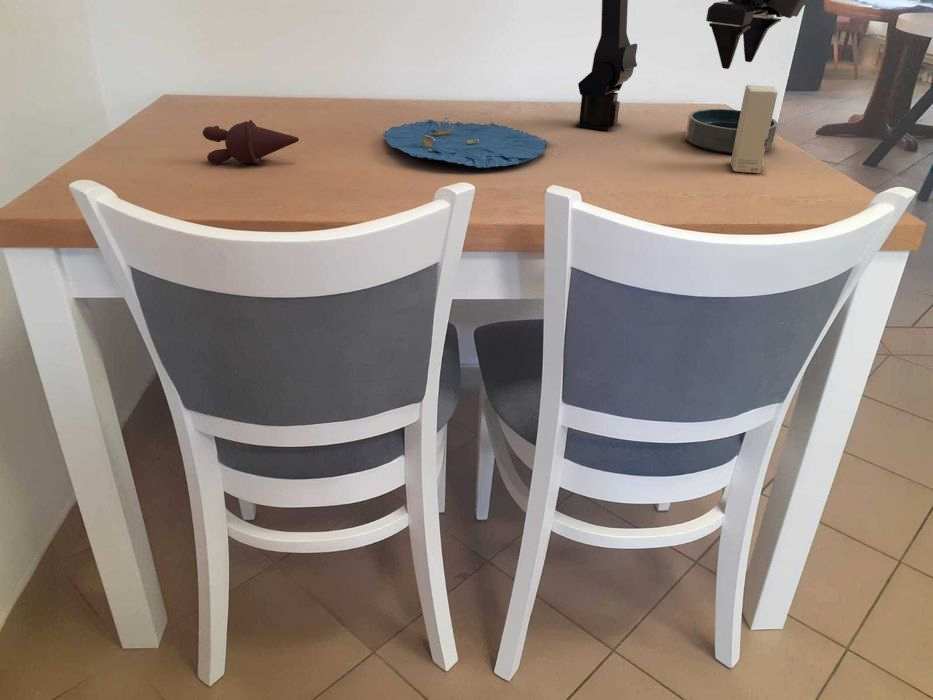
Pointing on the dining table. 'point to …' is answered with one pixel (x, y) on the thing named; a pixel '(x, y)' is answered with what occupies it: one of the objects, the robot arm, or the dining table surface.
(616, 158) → the dining table surface
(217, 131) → the icecream
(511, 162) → the decorative plate
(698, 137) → the bowl
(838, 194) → the dining table surface
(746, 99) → the box
